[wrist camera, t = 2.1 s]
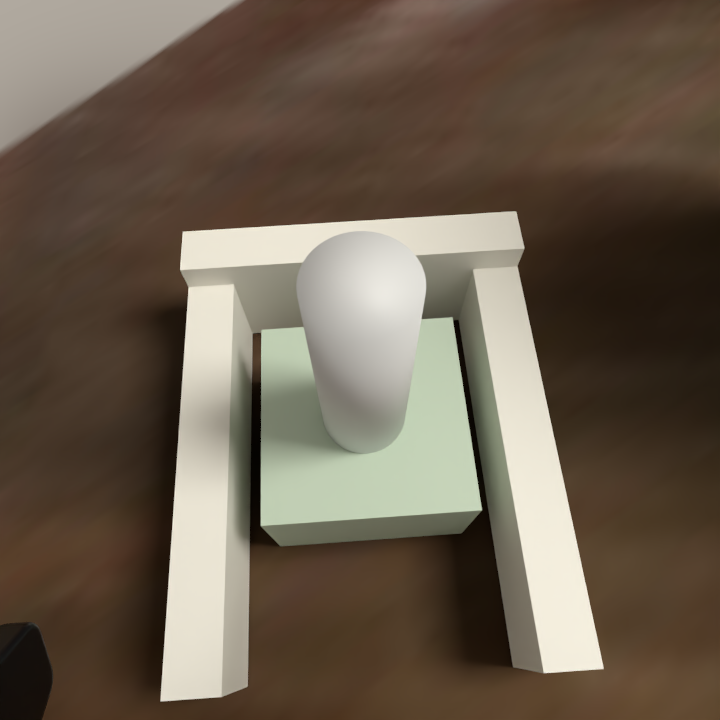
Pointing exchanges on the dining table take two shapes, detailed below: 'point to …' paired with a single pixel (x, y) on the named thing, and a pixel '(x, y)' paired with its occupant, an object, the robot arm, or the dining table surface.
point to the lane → (491, 415)
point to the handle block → (364, 405)
